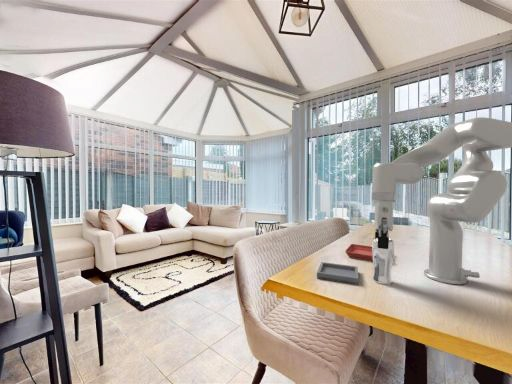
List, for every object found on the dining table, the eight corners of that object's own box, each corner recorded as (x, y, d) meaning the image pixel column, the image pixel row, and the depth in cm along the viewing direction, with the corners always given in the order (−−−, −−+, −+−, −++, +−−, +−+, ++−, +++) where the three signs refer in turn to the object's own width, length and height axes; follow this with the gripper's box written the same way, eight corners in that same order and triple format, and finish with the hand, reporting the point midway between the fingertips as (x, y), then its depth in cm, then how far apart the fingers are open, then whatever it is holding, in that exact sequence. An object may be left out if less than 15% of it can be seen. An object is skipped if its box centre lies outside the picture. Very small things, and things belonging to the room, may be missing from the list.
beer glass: (387, 277, 86) (388, 237, 85) (397, 285, 79) (398, 242, 78) (368, 276, 86) (369, 237, 86) (376, 284, 80) (377, 241, 79)
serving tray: (357, 272, 91) (357, 266, 91) (358, 284, 79) (358, 278, 79) (321, 267, 97) (321, 261, 97) (316, 278, 85) (316, 272, 85)
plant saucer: (389, 255, 116) (389, 248, 116) (387, 265, 101) (387, 257, 101) (351, 249, 126) (351, 243, 126) (344, 258, 110) (344, 251, 110)
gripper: (400, 198, 72) (397, 252, 73) (391, 197, 88) (389, 241, 89) (373, 197, 75) (371, 249, 76) (369, 196, 91) (367, 239, 92)
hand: (381, 245), depth 82 cm, fingers open, 9 cm apart
